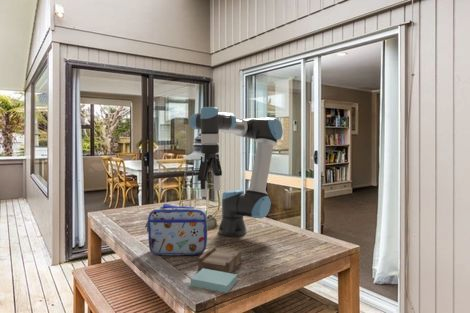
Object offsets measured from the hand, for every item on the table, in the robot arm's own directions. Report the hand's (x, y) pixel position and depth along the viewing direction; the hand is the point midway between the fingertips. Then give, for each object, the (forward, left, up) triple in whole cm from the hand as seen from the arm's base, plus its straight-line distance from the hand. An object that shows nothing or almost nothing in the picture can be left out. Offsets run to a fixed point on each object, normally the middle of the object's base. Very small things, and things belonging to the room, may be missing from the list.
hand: (210, 193), depth 139 cm
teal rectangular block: (+22, +12, -29) cm, 38 cm away
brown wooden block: (+7, +8, -28) cm, 30 cm away
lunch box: (+1, -16, -29) cm, 33 cm away
